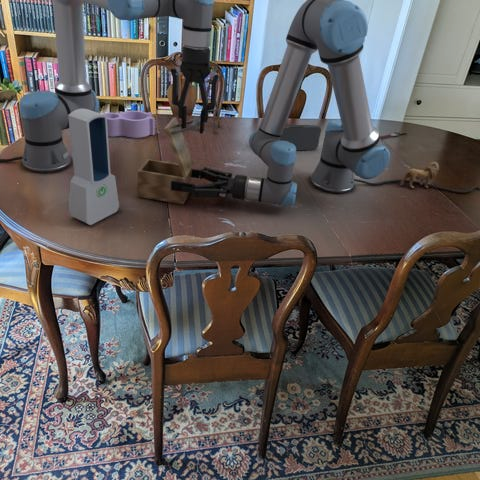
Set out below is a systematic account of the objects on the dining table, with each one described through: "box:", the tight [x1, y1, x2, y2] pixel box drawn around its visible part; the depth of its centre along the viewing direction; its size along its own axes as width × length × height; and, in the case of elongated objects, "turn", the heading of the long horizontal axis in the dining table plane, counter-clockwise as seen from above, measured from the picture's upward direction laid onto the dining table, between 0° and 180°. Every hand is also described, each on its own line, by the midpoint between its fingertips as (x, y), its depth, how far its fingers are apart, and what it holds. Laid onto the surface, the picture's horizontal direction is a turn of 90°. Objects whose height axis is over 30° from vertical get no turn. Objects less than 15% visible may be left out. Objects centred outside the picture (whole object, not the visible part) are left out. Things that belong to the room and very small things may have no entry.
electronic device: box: [68, 109, 120, 226], centre depth 127 cm, size 12×8×30 cm, turn 148°
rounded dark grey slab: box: [280, 124, 322, 151], centre depth 189 cm, size 23×3×10 cm, turn 108°
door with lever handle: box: [163, 116, 200, 177], centre depth 139 cm, size 16×10×9 cm
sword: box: [380, 132, 406, 140], centre depth 214 cm, size 31×3×1 cm, turn 126°
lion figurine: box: [399, 161, 440, 189], centre depth 170 cm, size 15×5×9 cm, turn 110°
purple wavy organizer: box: [102, 110, 156, 139], centre depth 189 cm, size 20×12×7 cm, turn 109°
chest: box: [137, 158, 193, 205], centre depth 147 cm, size 15×10×9 cm
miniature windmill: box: [196, 58, 221, 133], centre depth 195 cm, size 9×8×30 cm
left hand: (192, 130), depth 137 cm, fingers open, 5 cm apart
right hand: (175, 178), depth 146 cm, fingers closed on chest, 10 cm apart
